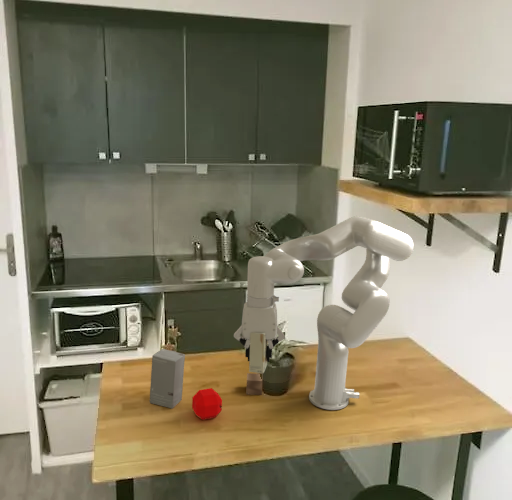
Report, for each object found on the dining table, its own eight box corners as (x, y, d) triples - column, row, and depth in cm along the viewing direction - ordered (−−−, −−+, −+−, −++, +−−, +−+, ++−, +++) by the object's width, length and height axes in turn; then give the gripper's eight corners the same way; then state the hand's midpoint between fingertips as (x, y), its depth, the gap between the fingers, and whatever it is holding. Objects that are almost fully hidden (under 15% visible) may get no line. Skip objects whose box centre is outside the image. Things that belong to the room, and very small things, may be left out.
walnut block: (261, 387, 174) (262, 373, 173) (261, 395, 170) (262, 381, 168) (246, 386, 174) (247, 373, 173) (246, 394, 170) (246, 380, 168)
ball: (223, 420, 154) (224, 396, 152) (197, 424, 151) (198, 401, 149) (215, 406, 161) (216, 383, 160) (190, 410, 158) (190, 387, 157)
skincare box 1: (149, 403, 161) (149, 356, 157) (160, 393, 168) (161, 347, 164) (173, 409, 158) (174, 361, 155) (184, 398, 165) (185, 352, 161)
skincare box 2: (263, 374, 150) (264, 334, 146) (248, 372, 150) (249, 332, 147) (267, 364, 156) (268, 325, 153) (253, 362, 156) (254, 324, 153)
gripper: (289, 296, 151) (287, 354, 156) (230, 295, 151) (229, 353, 156) (291, 305, 144) (288, 366, 149) (229, 304, 144) (228, 364, 149)
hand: (258, 358), depth 152 cm, fingers closed on skincare box 2, 5 cm apart
